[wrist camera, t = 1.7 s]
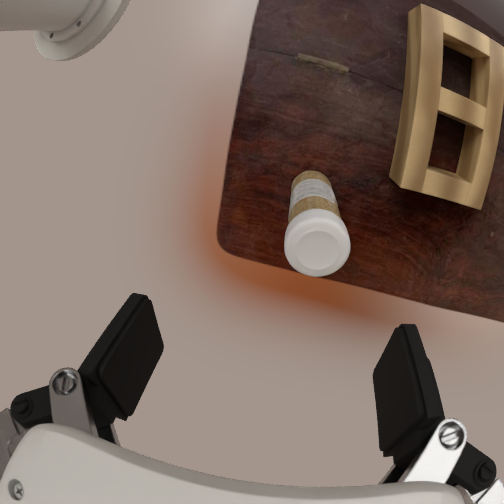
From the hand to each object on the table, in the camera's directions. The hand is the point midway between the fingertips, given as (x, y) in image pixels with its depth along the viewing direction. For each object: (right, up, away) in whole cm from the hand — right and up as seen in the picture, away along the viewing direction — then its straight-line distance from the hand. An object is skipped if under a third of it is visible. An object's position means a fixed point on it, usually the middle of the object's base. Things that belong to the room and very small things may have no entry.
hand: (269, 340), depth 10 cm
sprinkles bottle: (+6, +10, +20) cm, 23 cm away
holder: (+21, +19, +12) cm, 30 cm away
